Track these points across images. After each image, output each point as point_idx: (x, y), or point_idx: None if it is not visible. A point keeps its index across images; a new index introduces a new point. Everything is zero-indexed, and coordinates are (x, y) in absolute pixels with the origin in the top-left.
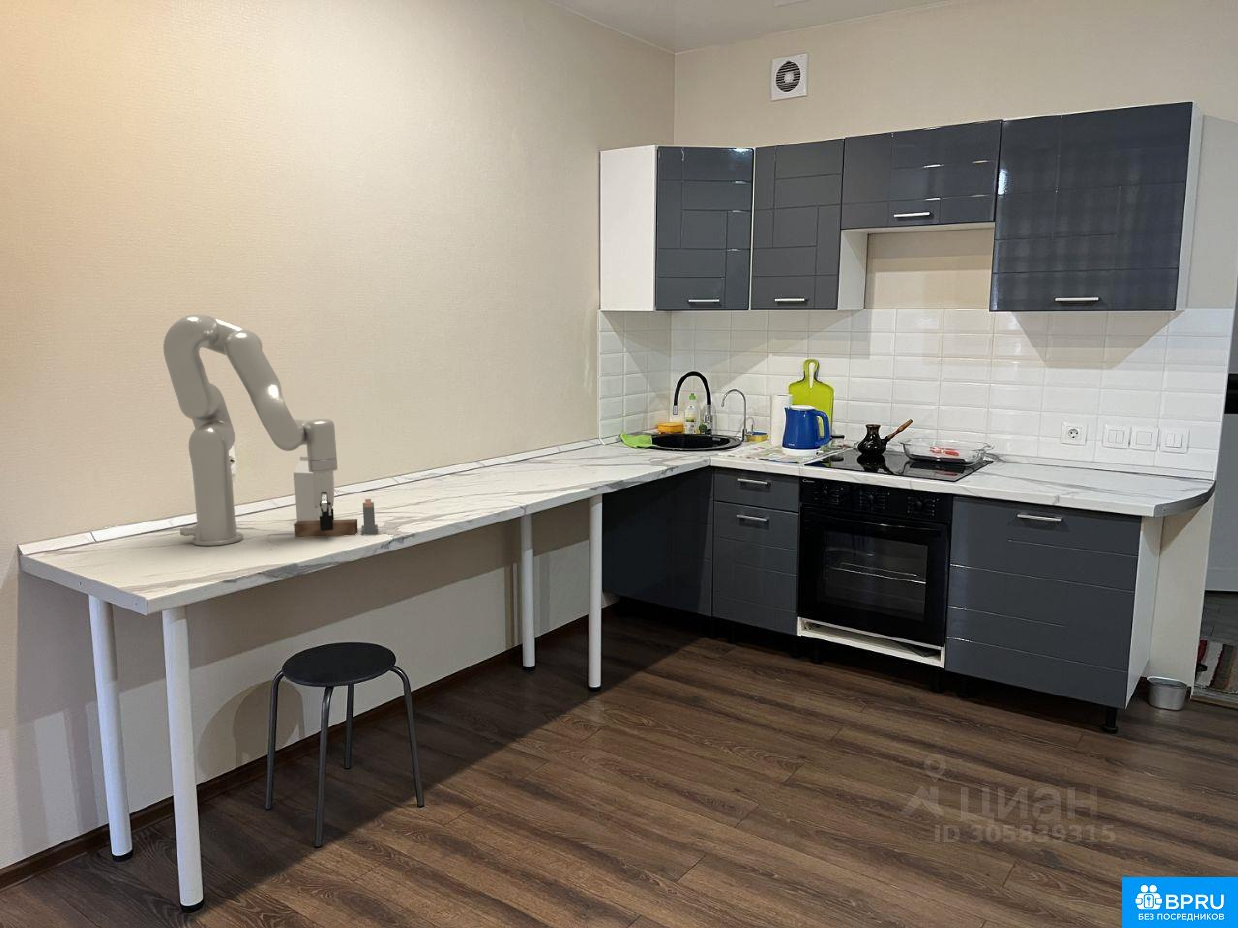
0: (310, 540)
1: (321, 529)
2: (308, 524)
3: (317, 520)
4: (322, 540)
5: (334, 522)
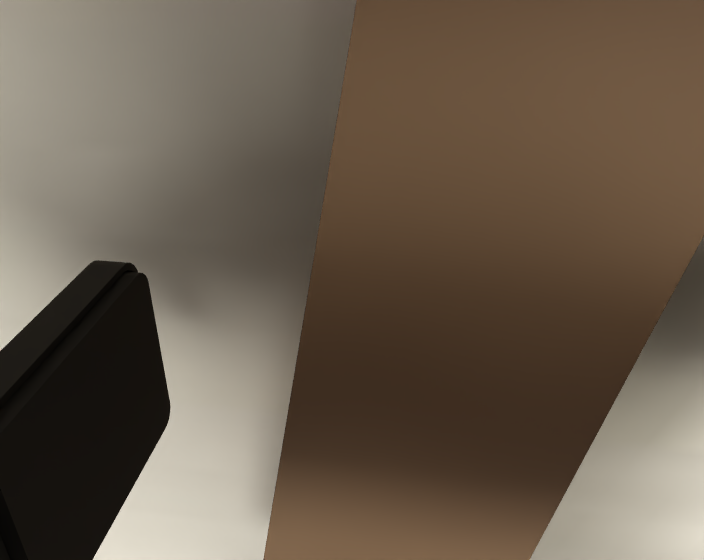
0: (107, 28)
1: (89, 276)
2: (356, 49)
3: (661, 276)
4: (88, 203)
5: (301, 510)
